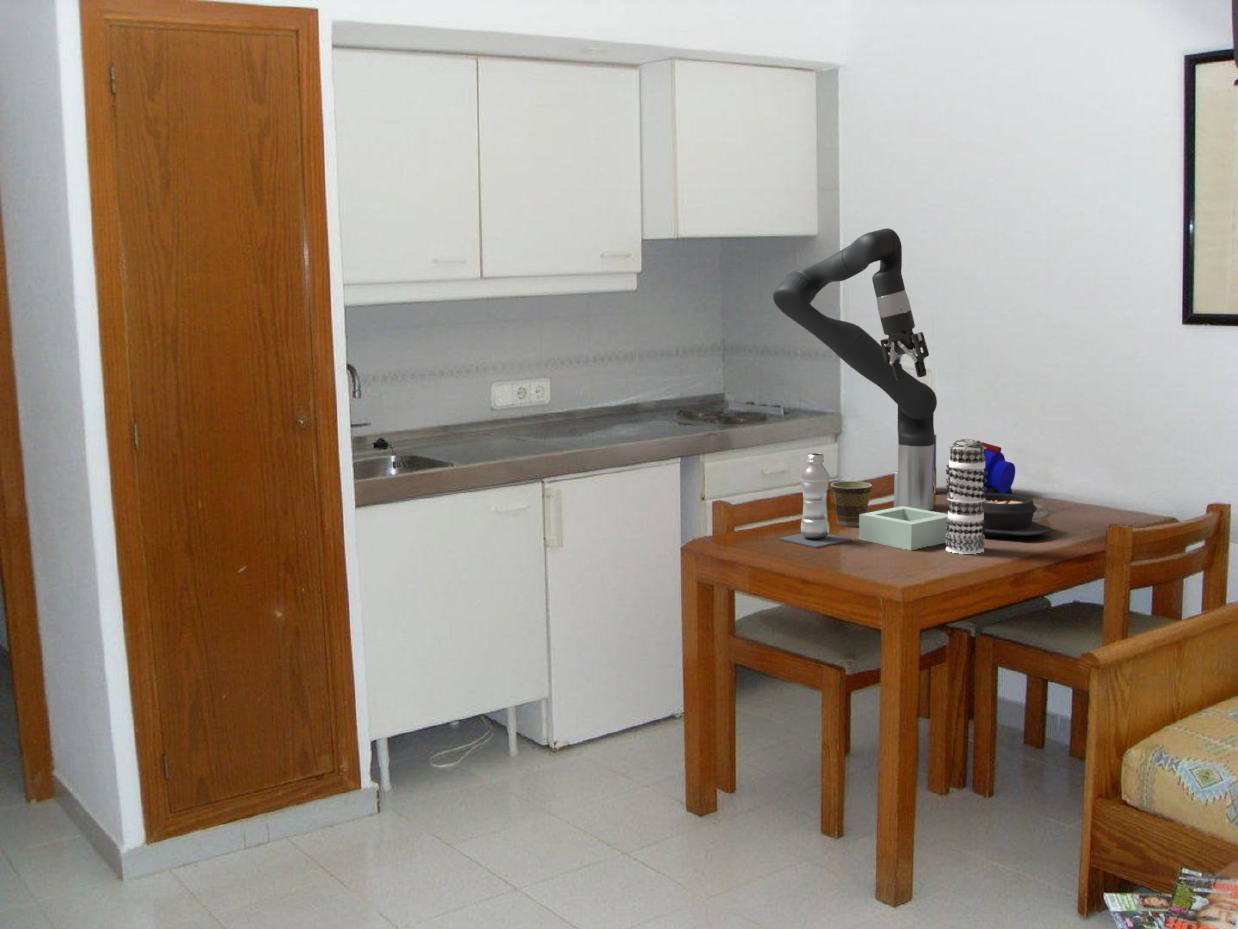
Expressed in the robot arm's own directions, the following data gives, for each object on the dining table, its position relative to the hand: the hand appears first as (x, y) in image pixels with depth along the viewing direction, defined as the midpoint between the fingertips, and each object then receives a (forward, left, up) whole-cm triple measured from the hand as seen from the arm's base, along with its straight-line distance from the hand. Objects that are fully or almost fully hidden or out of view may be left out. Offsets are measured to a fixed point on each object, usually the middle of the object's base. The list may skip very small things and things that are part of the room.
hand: (911, 377), depth 312 cm
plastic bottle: (-5, -27, -36) cm, 46 cm away
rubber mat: (-5, -27, -37) cm, 46 cm away
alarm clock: (-13, +50, -37) cm, 63 cm away
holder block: (+9, -11, -37) cm, 39 cm away
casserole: (+18, +12, -37) cm, 43 cm away
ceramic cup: (-13, -8, -37) cm, 40 cm away
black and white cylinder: (+25, -10, -37) cm, 46 cm away
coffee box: (-29, +40, -37) cm, 61 cm away
